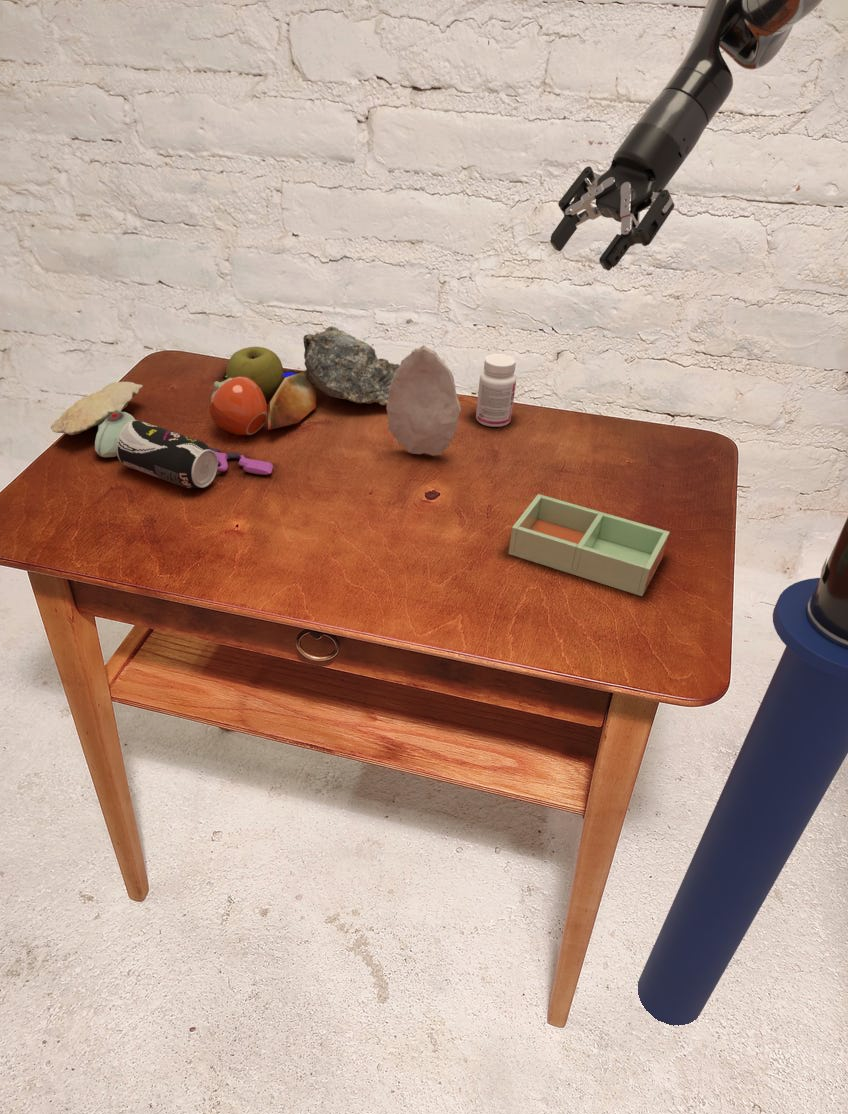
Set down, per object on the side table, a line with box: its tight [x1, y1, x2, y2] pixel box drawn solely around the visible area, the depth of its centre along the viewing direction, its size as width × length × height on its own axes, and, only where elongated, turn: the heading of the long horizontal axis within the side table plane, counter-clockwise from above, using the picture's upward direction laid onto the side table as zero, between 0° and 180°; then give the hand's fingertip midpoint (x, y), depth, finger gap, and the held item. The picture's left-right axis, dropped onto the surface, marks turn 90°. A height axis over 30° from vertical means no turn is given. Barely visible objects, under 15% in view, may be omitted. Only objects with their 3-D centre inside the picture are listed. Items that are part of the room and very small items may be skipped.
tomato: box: [209, 376, 268, 436], centre depth 113 cm, size 7×7×8 cm
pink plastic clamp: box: [208, 446, 274, 476], centre depth 109 cm, size 21×1×5 cm
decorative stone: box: [267, 370, 317, 431], centre depth 116 cm, size 14×6×3 cm
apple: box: [225, 346, 284, 405], centre depth 118 cm, size 8×8×7 cm
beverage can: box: [116, 419, 219, 490], centre depth 104 cm, size 6×6×12 cm
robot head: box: [94, 411, 136, 458], centre depth 109 cm, size 8×4×7 cm
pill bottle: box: [475, 353, 517, 428], centre depth 115 cm, size 5×5×8 cm
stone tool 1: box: [50, 381, 144, 436], centre depth 114 cm, size 8×4×15 cm
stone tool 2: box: [386, 344, 462, 457], centre depth 105 cm, size 9×3×15 cm, turn 80°
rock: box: [302, 326, 400, 406], centre depth 119 cm, size 14×10×10 cm
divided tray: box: [507, 493, 671, 597], centre depth 94 cm, size 15×8×4 cm, turn 61°
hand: (578, 256), depth 111 cm, fingers open, 8 cm apart
